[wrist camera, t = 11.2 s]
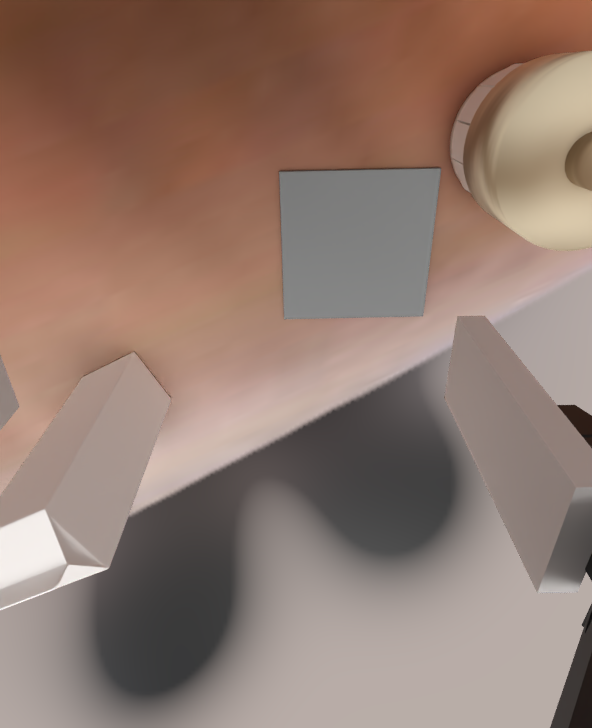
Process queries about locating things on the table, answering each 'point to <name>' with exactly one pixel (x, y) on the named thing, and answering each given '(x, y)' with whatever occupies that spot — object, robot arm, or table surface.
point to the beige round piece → (537, 151)
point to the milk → (79, 482)
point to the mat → (357, 241)
